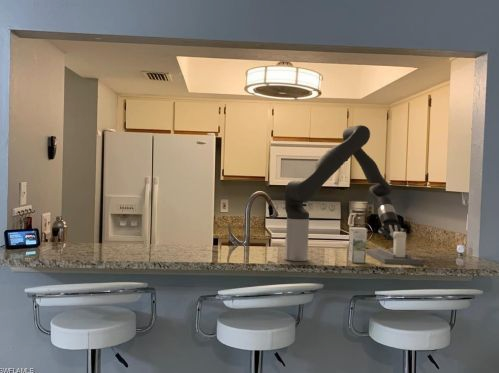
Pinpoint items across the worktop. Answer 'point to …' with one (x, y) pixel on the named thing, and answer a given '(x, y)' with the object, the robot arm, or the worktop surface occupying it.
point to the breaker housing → (393, 257)
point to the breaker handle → (399, 244)
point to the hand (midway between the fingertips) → (397, 246)
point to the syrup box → (357, 244)
